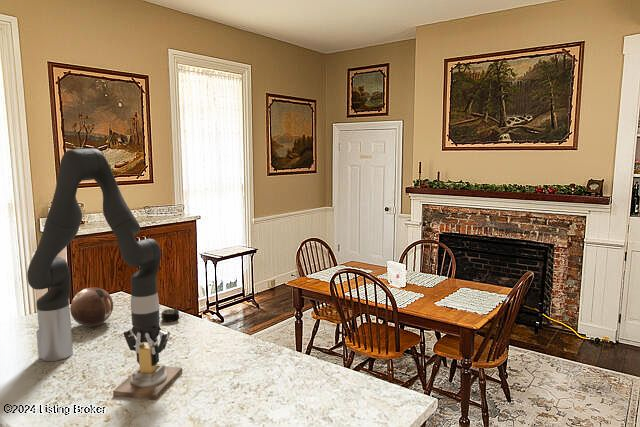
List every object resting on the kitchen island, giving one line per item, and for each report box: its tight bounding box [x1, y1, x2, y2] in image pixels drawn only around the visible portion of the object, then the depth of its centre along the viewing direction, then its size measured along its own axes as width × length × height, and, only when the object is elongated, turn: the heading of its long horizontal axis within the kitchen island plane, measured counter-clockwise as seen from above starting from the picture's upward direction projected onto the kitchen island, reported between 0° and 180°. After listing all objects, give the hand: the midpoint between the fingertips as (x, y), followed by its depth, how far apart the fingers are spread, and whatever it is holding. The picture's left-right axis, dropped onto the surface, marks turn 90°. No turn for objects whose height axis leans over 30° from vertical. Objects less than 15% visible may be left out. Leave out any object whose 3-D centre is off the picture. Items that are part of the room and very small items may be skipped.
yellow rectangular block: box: [138, 343, 158, 374], centre depth 135 cm, size 4×4×8 cm
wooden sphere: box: [69, 286, 114, 328], centre depth 179 cm, size 15×15×15 cm
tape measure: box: [160, 308, 180, 322], centre depth 185 cm, size 7×7×4 cm
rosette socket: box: [112, 363, 183, 401], centre depth 135 cm, size 13×16×4 cm
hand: (148, 363), depth 135 cm, fingers closed on yellow rectangular block, 3 cm apart
